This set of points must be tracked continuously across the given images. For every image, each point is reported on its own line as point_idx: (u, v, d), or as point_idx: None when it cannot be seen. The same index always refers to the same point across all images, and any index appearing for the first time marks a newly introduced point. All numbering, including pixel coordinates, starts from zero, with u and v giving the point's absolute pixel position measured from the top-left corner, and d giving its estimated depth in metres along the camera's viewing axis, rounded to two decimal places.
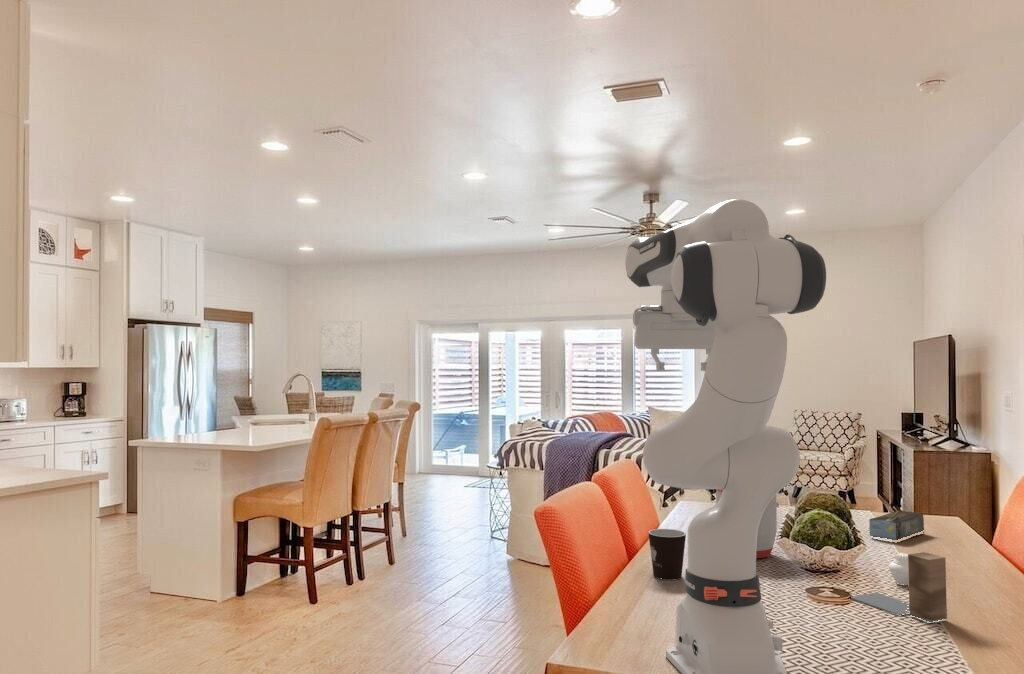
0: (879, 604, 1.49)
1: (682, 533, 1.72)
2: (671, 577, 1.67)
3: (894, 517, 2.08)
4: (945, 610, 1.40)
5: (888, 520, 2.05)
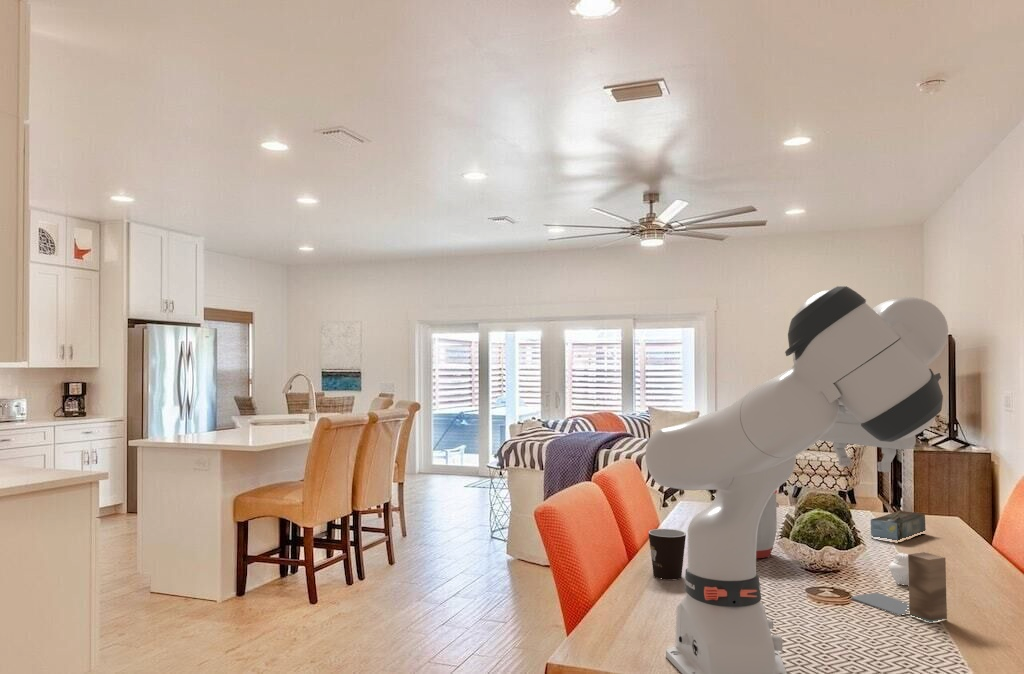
0: (879, 604, 1.49)
1: (682, 533, 1.72)
2: (671, 577, 1.67)
3: (895, 517, 2.08)
4: (945, 610, 1.40)
5: (889, 520, 2.05)
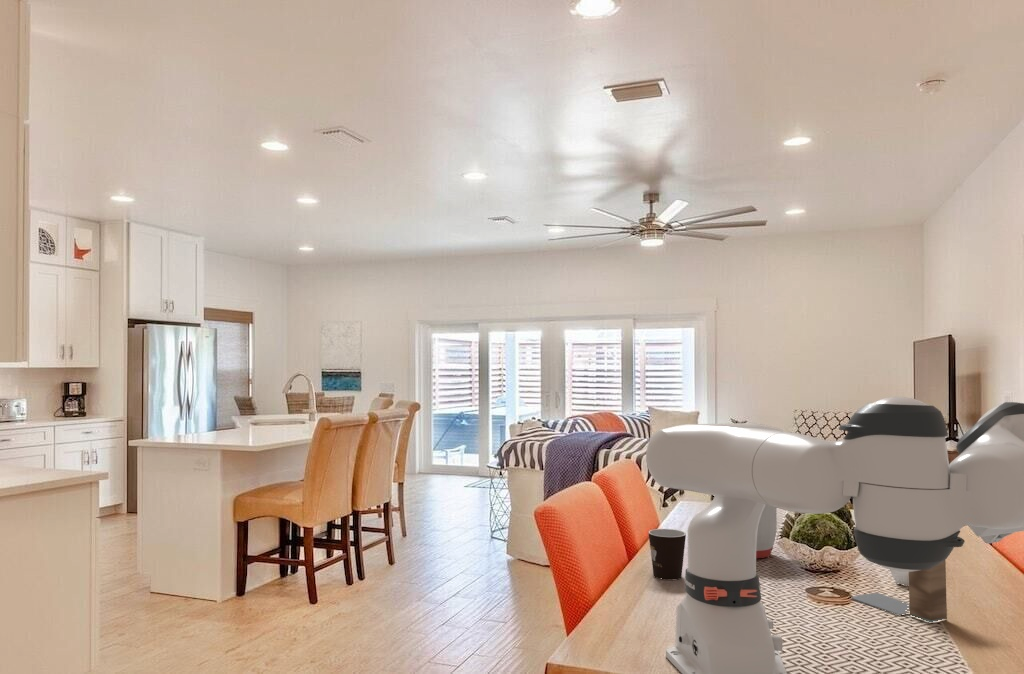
0: (879, 604, 1.49)
1: (682, 533, 1.72)
2: (671, 577, 1.67)
3: None
4: (945, 610, 1.40)
5: None
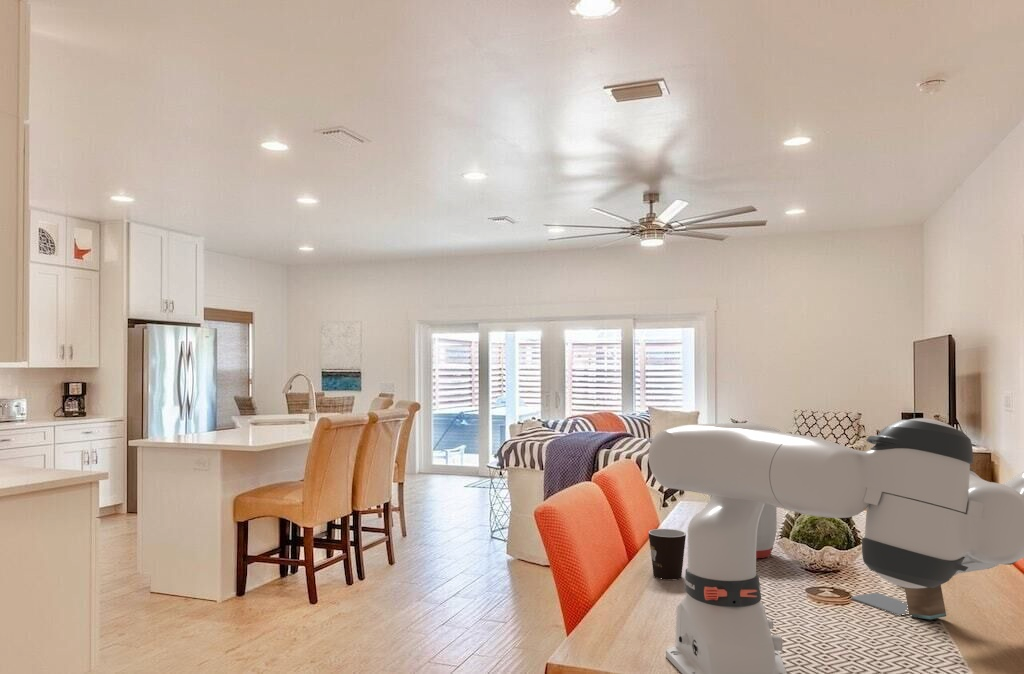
0: (879, 604, 1.49)
1: (682, 533, 1.72)
2: (671, 577, 1.67)
3: None
4: (943, 605, 1.41)
5: None
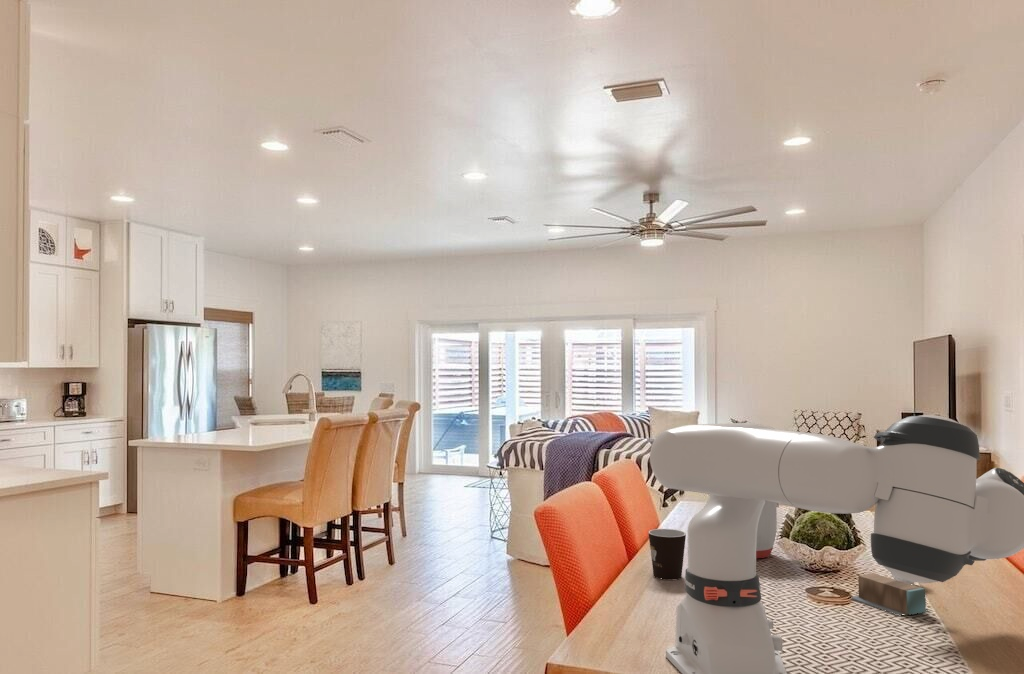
0: (879, 604, 1.49)
1: (682, 533, 1.72)
2: (671, 577, 1.67)
3: None
4: (914, 586, 1.46)
5: None
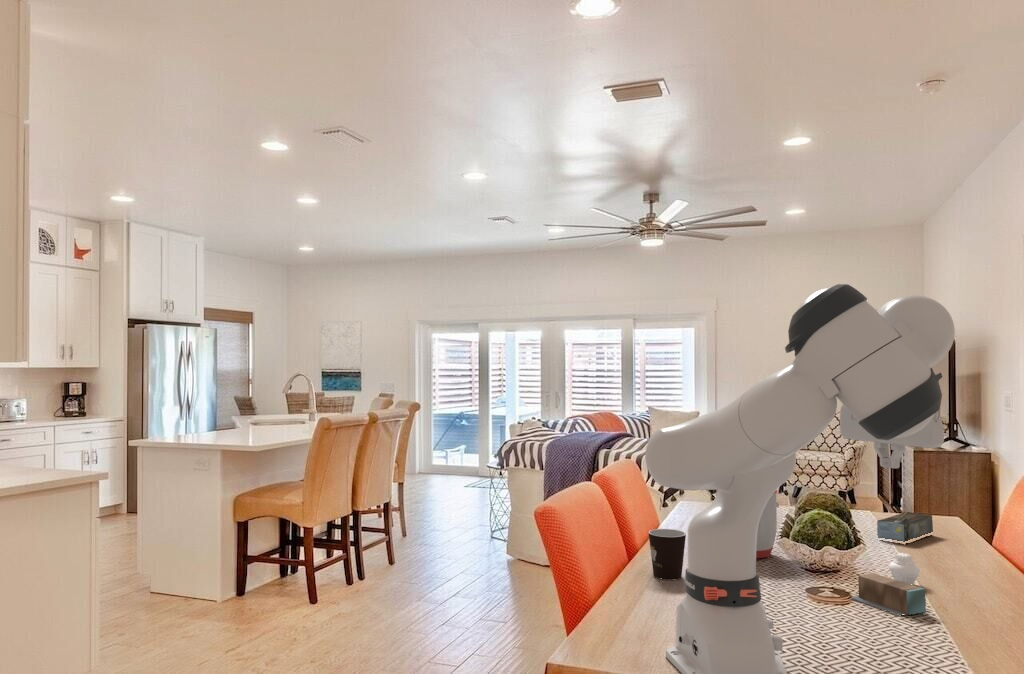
0: (879, 604, 1.49)
1: (682, 533, 1.72)
2: (671, 577, 1.67)
3: (902, 518, 2.06)
4: (914, 586, 1.46)
5: (896, 521, 2.03)
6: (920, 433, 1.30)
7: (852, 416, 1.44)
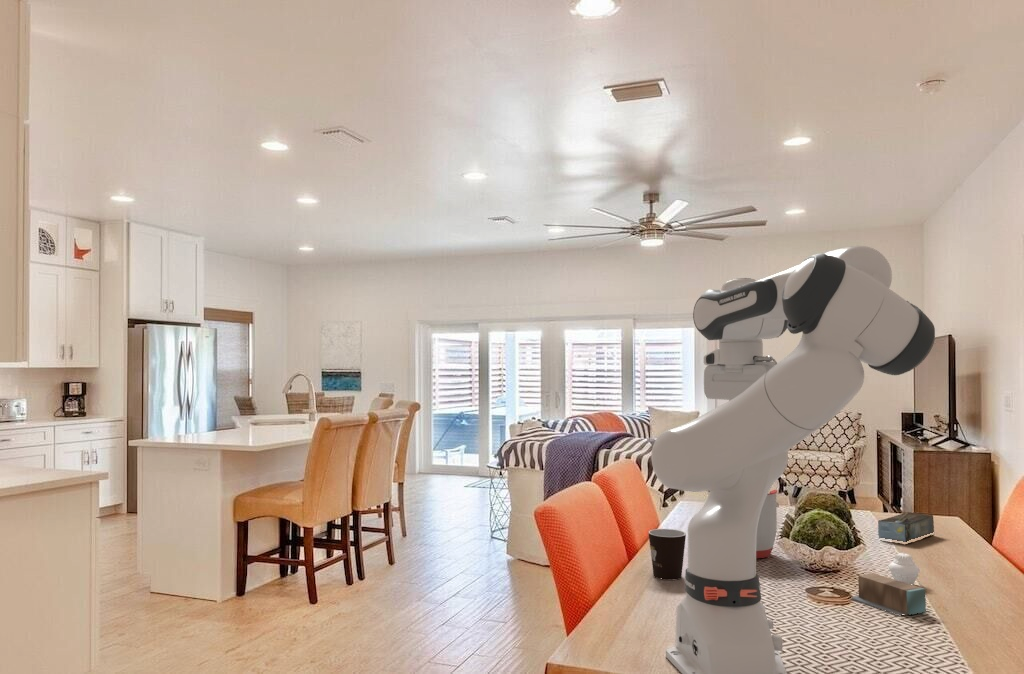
0: (879, 604, 1.49)
1: (682, 533, 1.72)
2: (671, 577, 1.67)
3: (903, 519, 2.06)
4: (914, 586, 1.46)
5: (897, 522, 2.03)
6: None
7: (713, 377, 1.59)
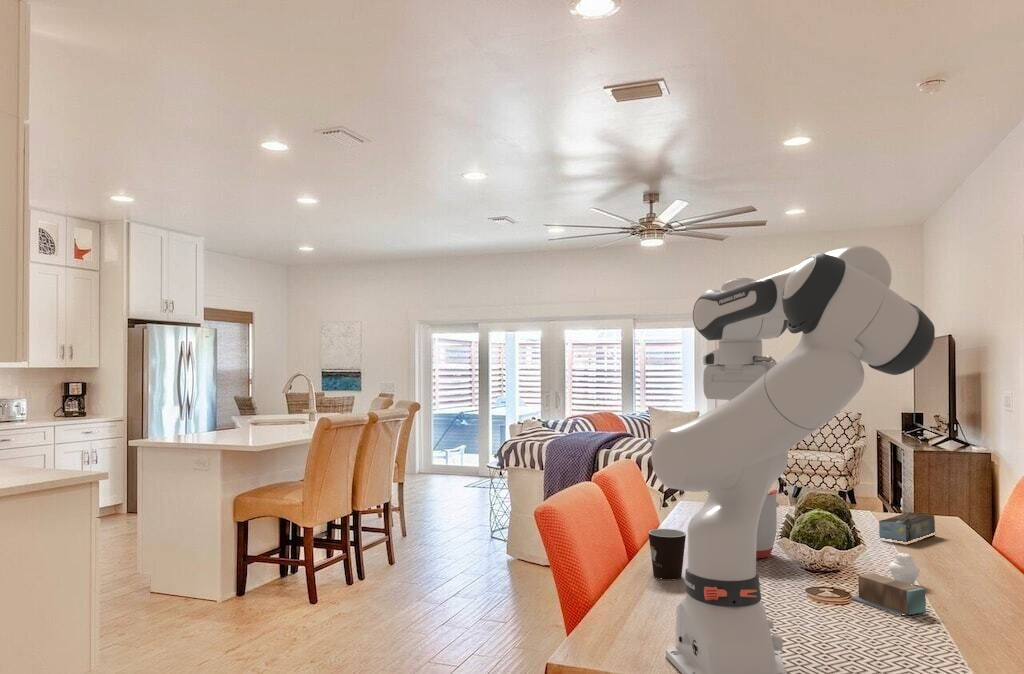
0: (879, 604, 1.49)
1: (682, 533, 1.72)
2: (671, 577, 1.67)
3: (904, 519, 2.06)
4: (914, 586, 1.46)
5: (898, 522, 2.03)
6: None
7: (712, 378, 1.59)
